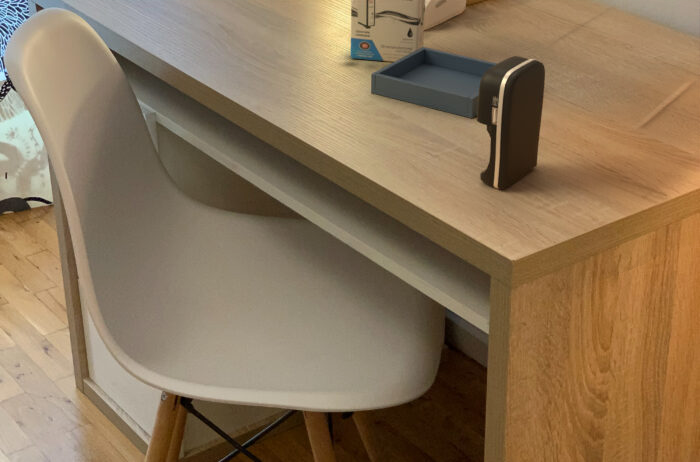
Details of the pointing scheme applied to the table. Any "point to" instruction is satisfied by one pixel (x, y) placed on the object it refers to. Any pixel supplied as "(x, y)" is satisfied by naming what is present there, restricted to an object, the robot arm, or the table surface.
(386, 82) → the tray
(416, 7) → the ink box
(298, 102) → the table surface
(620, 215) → the table surface
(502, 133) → the battery charger
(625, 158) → the table surface
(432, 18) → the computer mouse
